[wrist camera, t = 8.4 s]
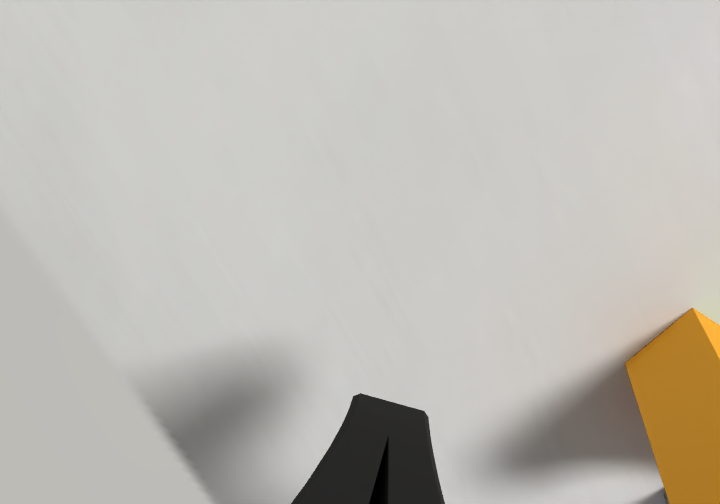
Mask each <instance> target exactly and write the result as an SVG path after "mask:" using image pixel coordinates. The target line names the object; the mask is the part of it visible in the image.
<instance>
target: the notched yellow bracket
mask: <svg viewBox="0 0 720 504" xmlns="http://www.w3.org/2000/svg"><path fill="white" fill-rule="evenodd" d="M625 366H626V369H627V372H628V375H629V378H630V381H631V385H632V388H633V391H634V394H635V397H636V400H637V403H638V406H639V410H640V413H641V416H642V419H643V422H644V425H645V428H646V432H647V435H648V438H649V441H650V444H651V447H652V450H653V454H654V457H655V460H656V463H657V466H658V469H659V472H660V476H661V479H662V482H663V485H664V488H665V491H666V494H667V497H668V501H669V504H720V325H718V324H717V323H715V322H714V321H712V320H711V319H709V318H707V317H706V316H704V315H703V314H701V313H700V312H698V311H697V310H695V309H694V308H692V309H690V310H689V311H688V312H687V313H686V314H684V315H683V316H682V317H681V318H679V319H678V320H677V321H676V322H675V323H673V324H672V325H671V326H670V327H669V328H667V329H666V330H665V331H664V332H662V333H661V334H660V335H659V336H658V337H656V338H655V339H654V340H653V341H652V342H650V343H649V344H648V345H647V346H646V347H644V348H643V349H642V350H641V351H639V352H638V353H637V354H636V355H635V356H633V357H632V358H631V359H630V360H629V361H627V362H626V363H625Z"/></svg>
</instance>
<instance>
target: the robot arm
mask: <svg viewBox="0 0 720 504" xmlns="http://www.w3.org/2000/svg"><path fill="white" fill-rule="evenodd" d="M291 504H445V502H444V499H443V495H442V491H441V487H440V483H439V478H438V474H437V469H436V464H435V460H434V454H433V449H432V443H431V437H430V429H429V420H428V416H427V415H426V413H425V412H424V411H422V410H418V409H415V408H411V407H407V406H404V405H400V404H397V403H393V402H389V401H386V400H382V399H379V398H375V397H371V396H368V395H364V394H361V393H360V394H358V395H355V396H353V399H352V402H351V405H350V408H349V410H348V413H347V415H346V417H345V420H344V422H343V424H342V426H341V428H340V430H339V432H338V433H337V435H336V437H335V439H334V440H333V442H332V444H331V446H330V447H329V449H328V451H327V452H326V454H325V455H324V457H323V458H322V460H321V461H320V463H319V465H318V466H317V468H316V469H315V471H314V472H313V474H312V475H311V477H310V478H309V480H308V481H307V483H306V484H305V486H304V487H303V488H302V490H301V491H300V492H299V494H298V495H297V496H296V498H295V499H294V500H293V502H292V503H291Z"/></svg>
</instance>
